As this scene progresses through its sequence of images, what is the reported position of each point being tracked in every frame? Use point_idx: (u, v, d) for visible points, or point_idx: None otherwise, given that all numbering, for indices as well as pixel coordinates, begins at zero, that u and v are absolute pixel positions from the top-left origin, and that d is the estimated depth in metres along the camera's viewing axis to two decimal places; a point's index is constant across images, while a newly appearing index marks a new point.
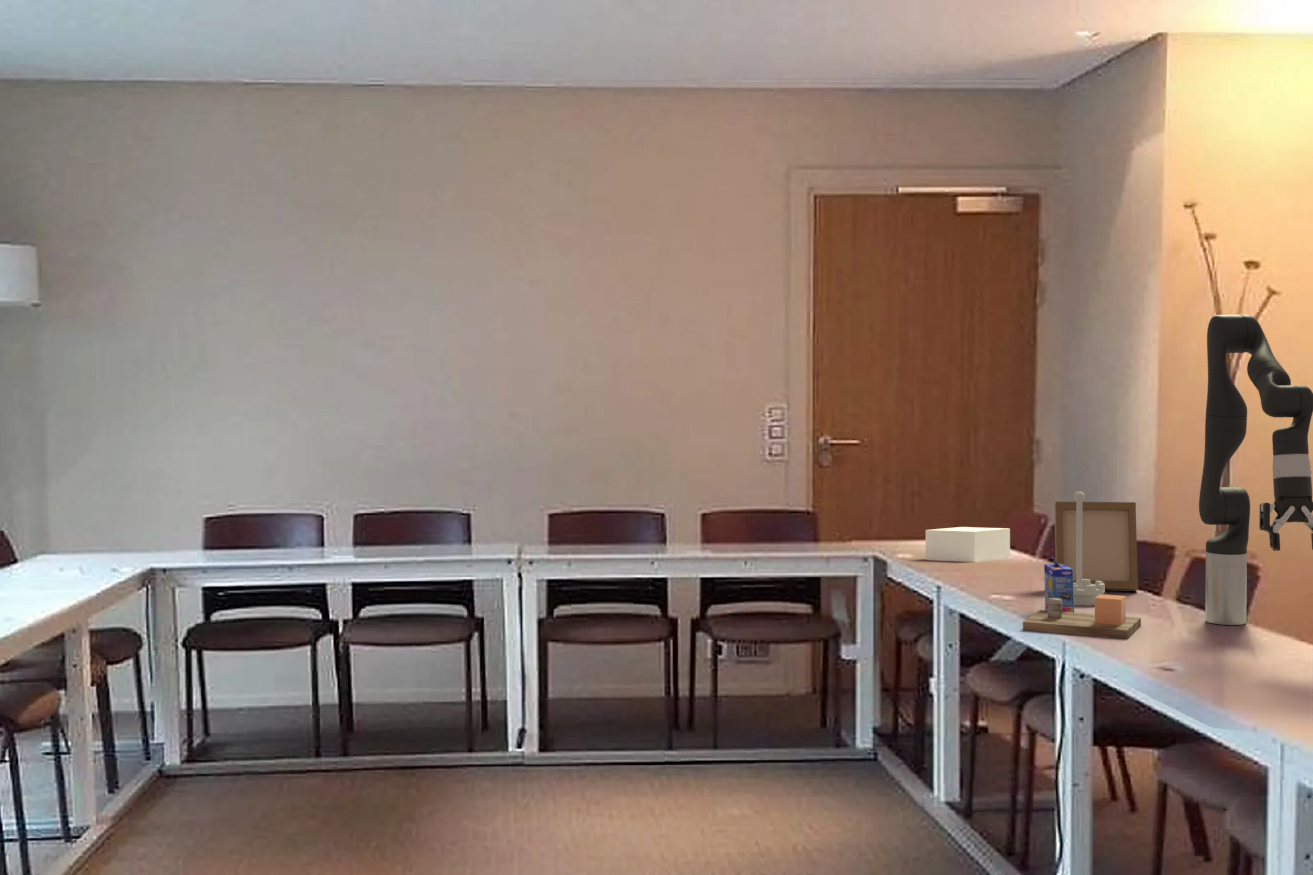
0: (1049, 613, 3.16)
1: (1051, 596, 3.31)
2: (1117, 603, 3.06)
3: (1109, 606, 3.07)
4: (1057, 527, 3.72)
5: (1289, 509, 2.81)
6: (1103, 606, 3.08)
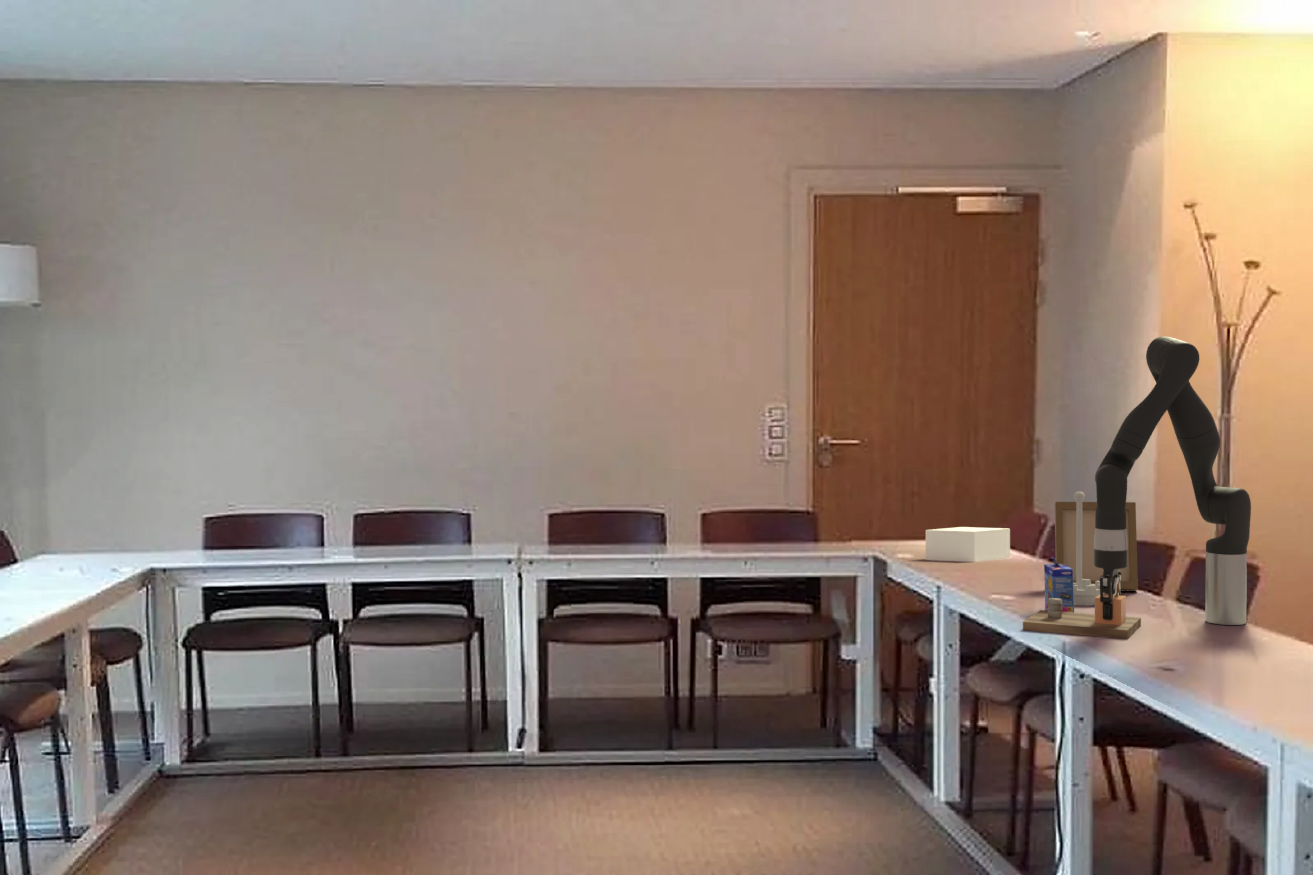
0: (1049, 613, 3.16)
1: (1051, 596, 3.31)
2: (1117, 603, 3.06)
3: None
4: (1057, 527, 3.72)
5: None
6: None
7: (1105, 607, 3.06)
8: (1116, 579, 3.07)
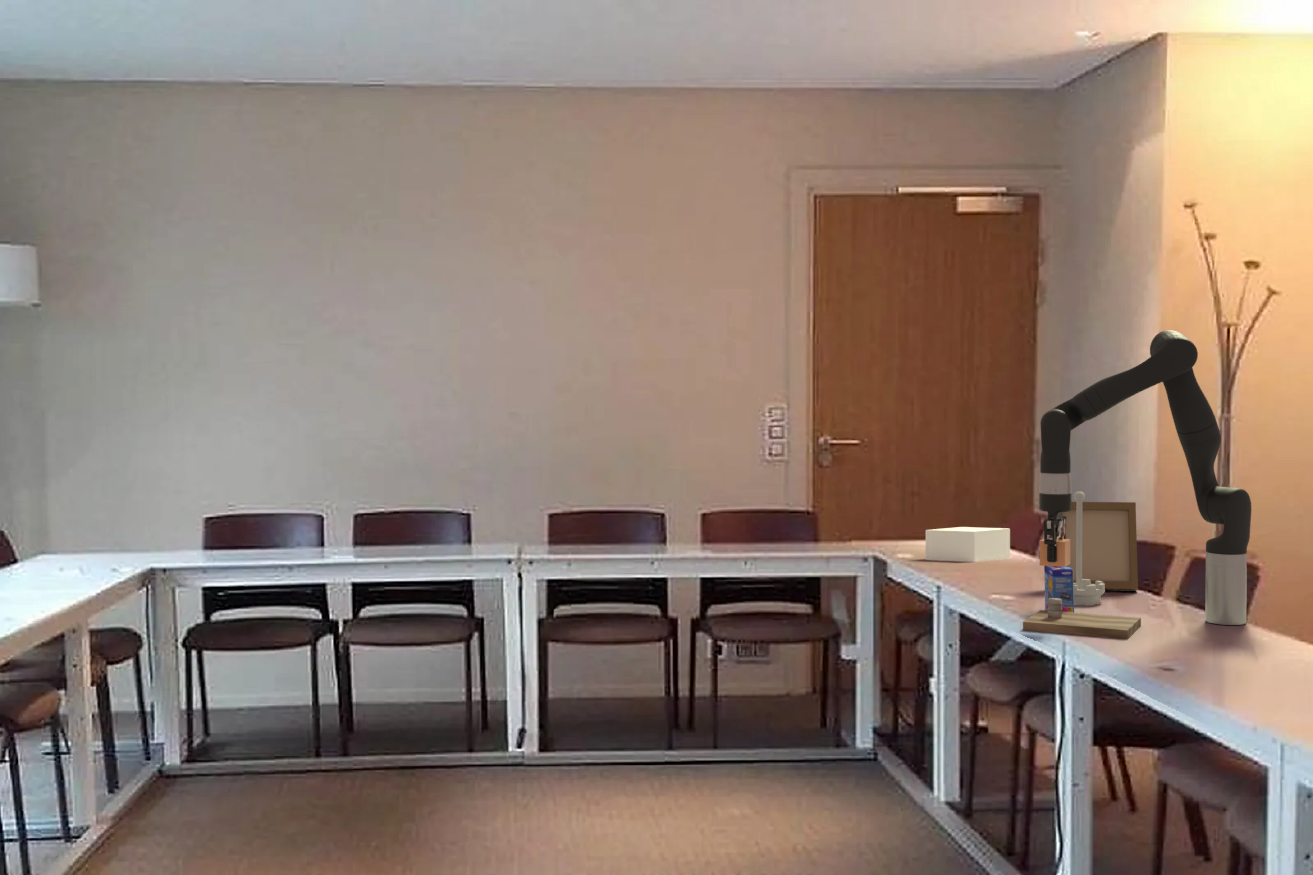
0: (1049, 613, 3.16)
1: (1051, 596, 3.31)
2: (1061, 545, 3.12)
3: None
4: None
5: None
6: None
7: (1049, 549, 3.12)
8: (1060, 522, 3.13)
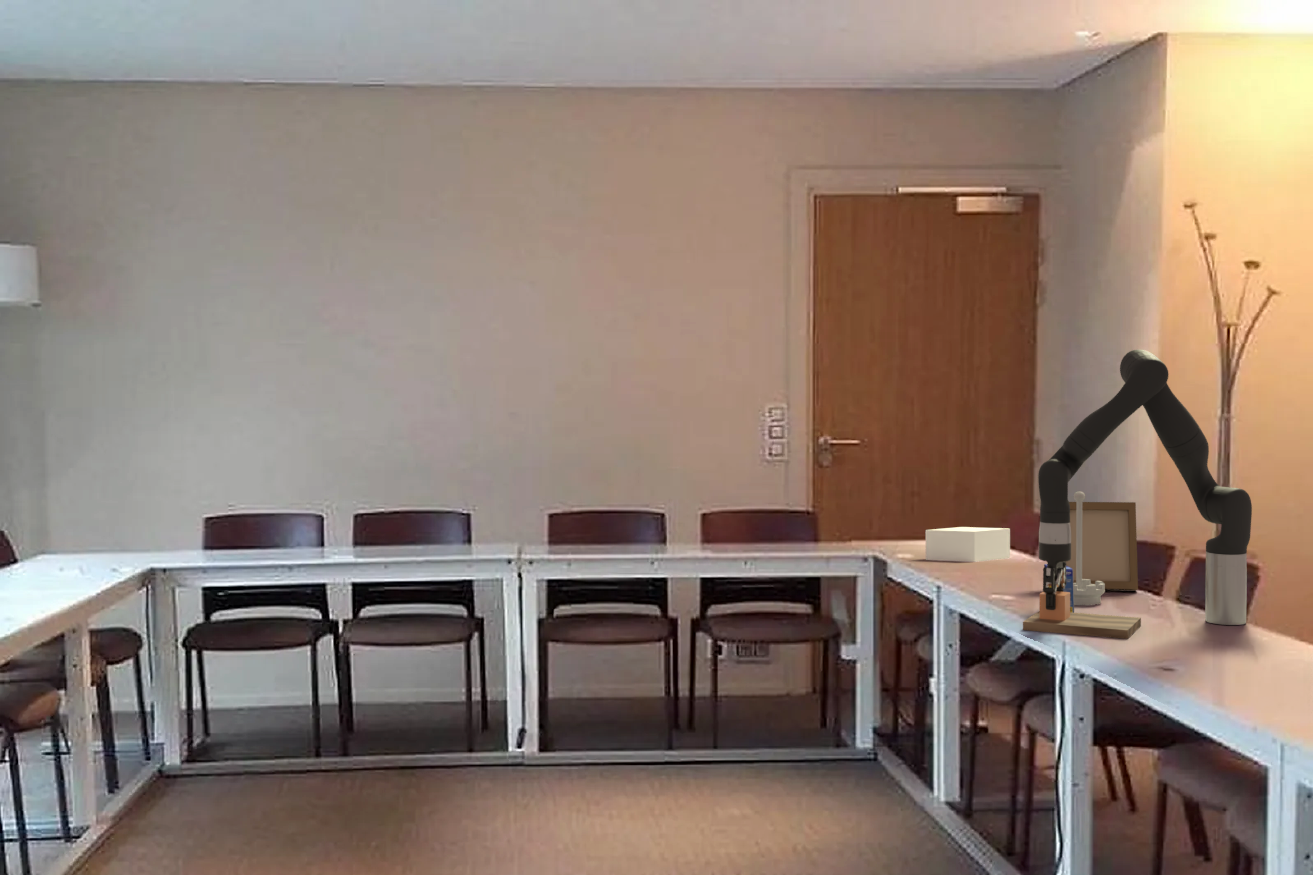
0: None
1: None
2: (1061, 599, 3.12)
3: None
4: None
5: None
6: None
7: (1048, 597, 3.12)
8: (1060, 571, 3.13)
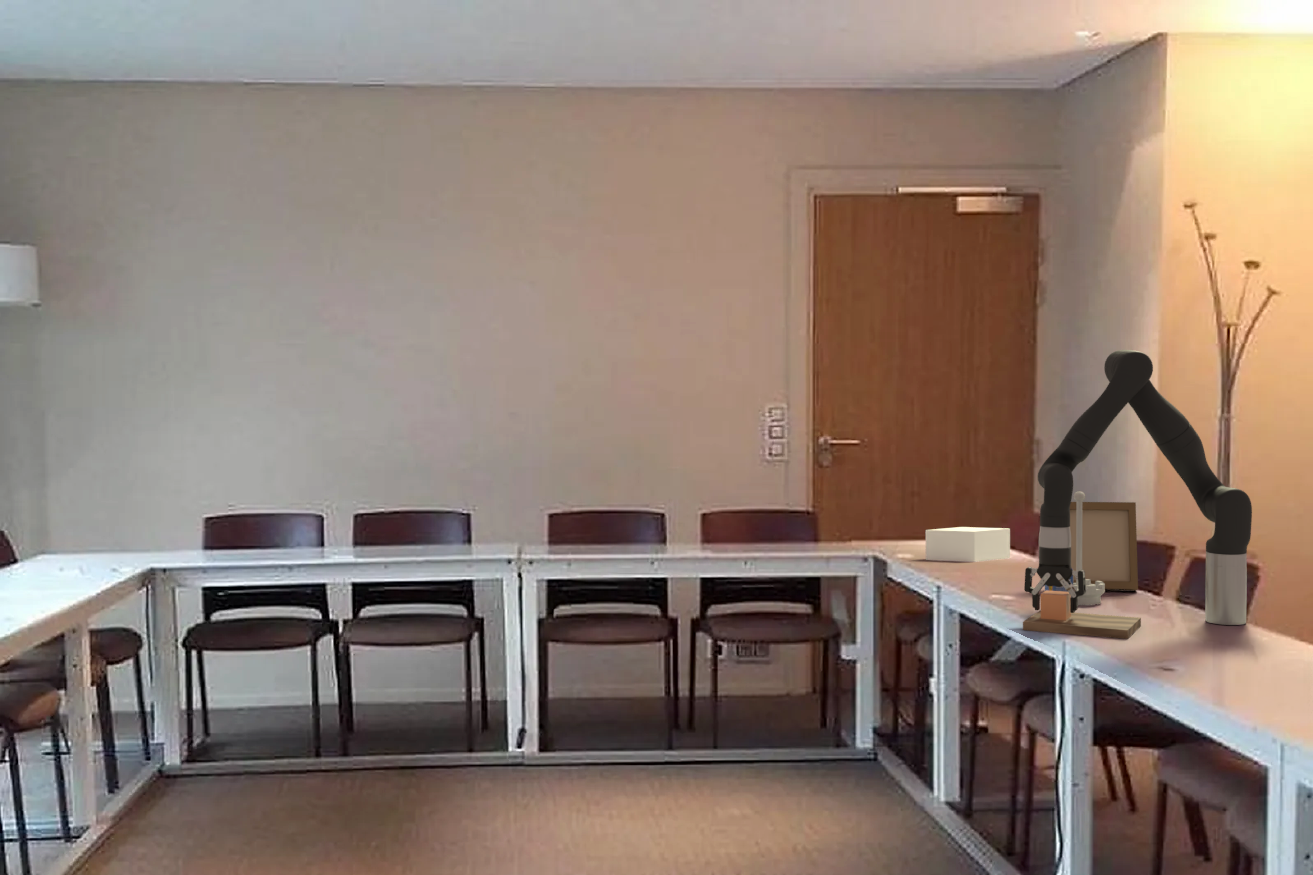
0: None
1: None
2: (1070, 596, 3.17)
3: (1068, 600, 3.15)
4: None
5: (1045, 575, 3.15)
6: (1067, 602, 3.14)
7: None
8: None
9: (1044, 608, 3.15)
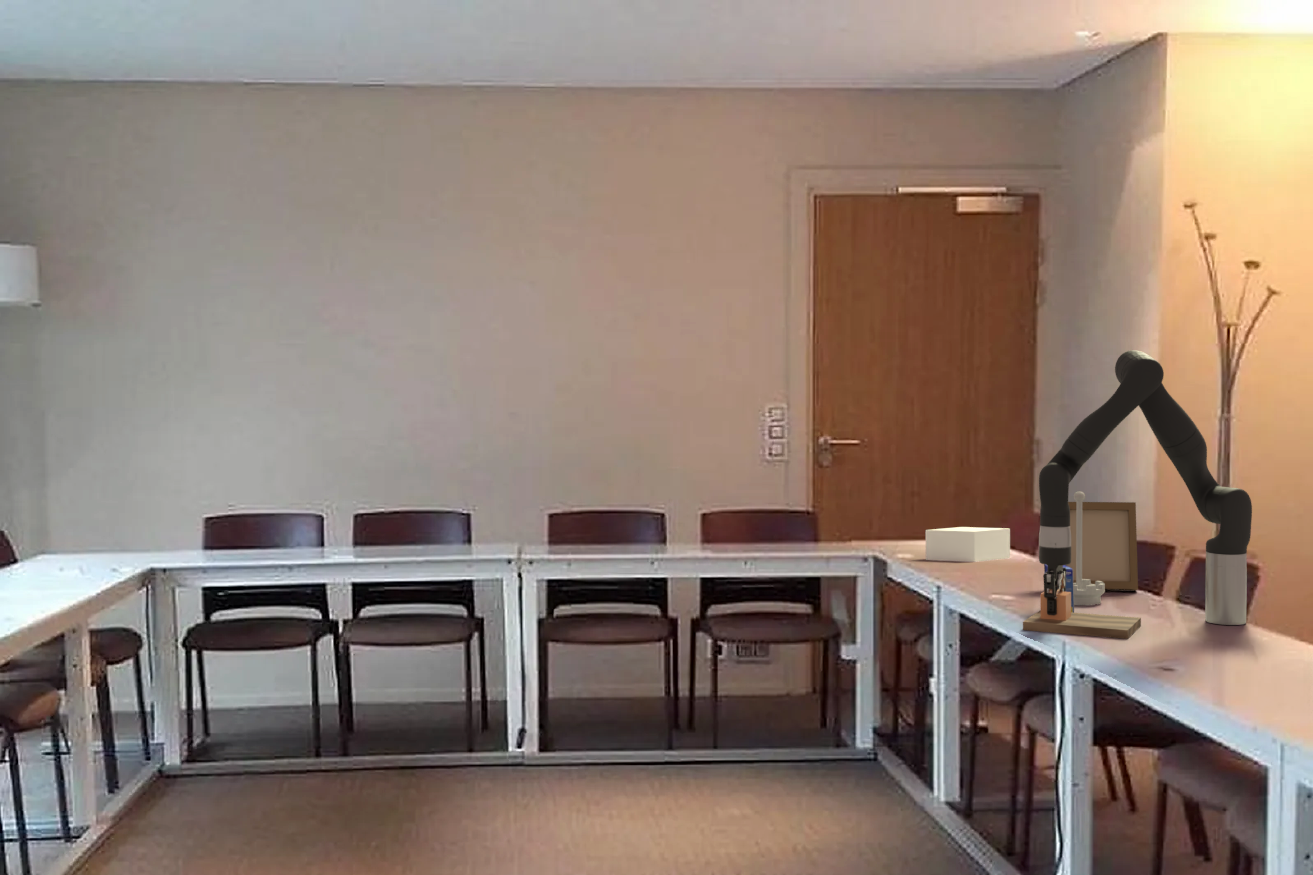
0: None
1: None
2: (1070, 596, 3.17)
3: (1068, 600, 3.15)
4: None
5: None
6: (1067, 602, 3.14)
7: (1049, 603, 3.13)
8: (1060, 575, 3.14)
9: (1044, 608, 3.15)
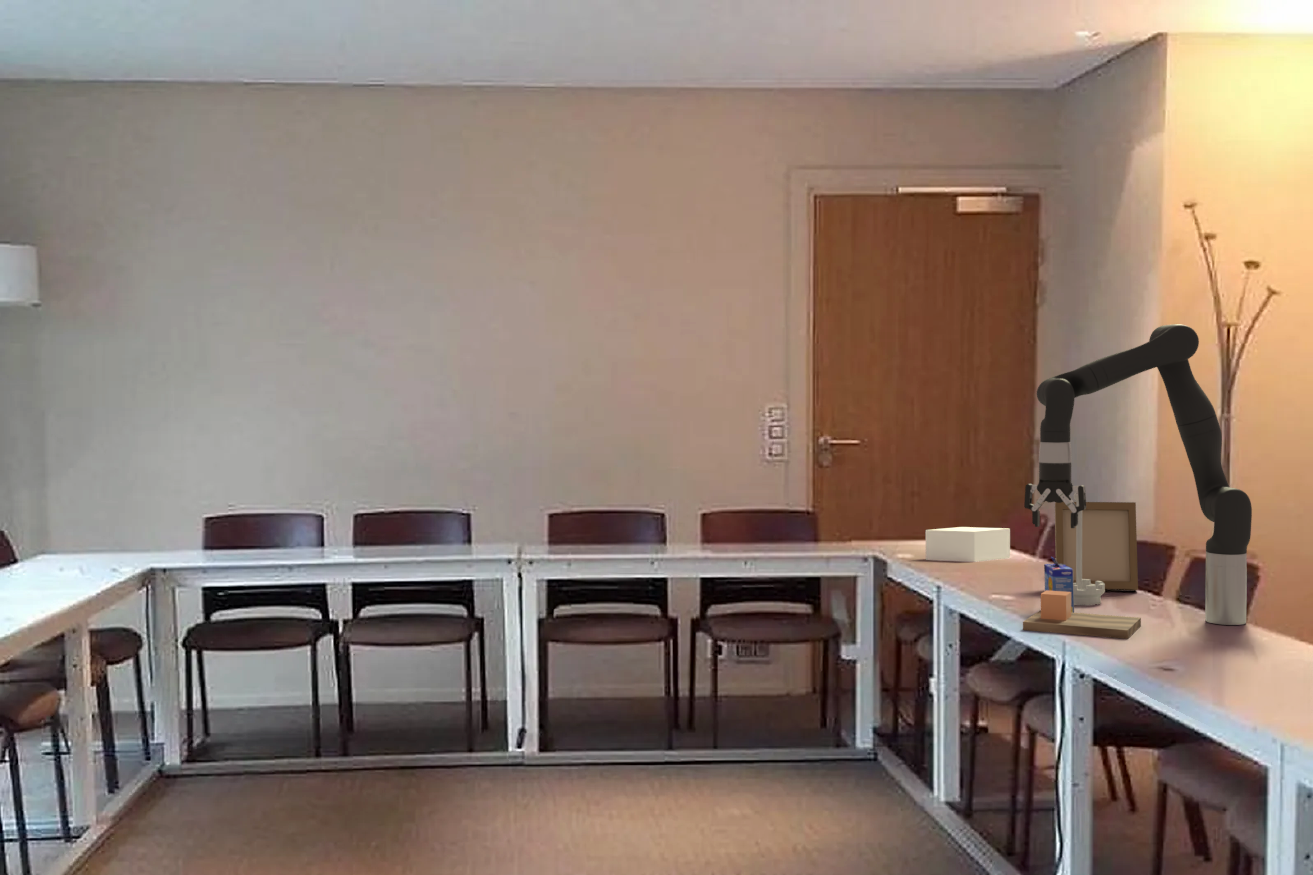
0: None
1: None
2: None
3: None
4: (1057, 527, 3.72)
5: (1045, 491, 3.14)
6: None
7: None
8: None
9: (1066, 609, 3.13)
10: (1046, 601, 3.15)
